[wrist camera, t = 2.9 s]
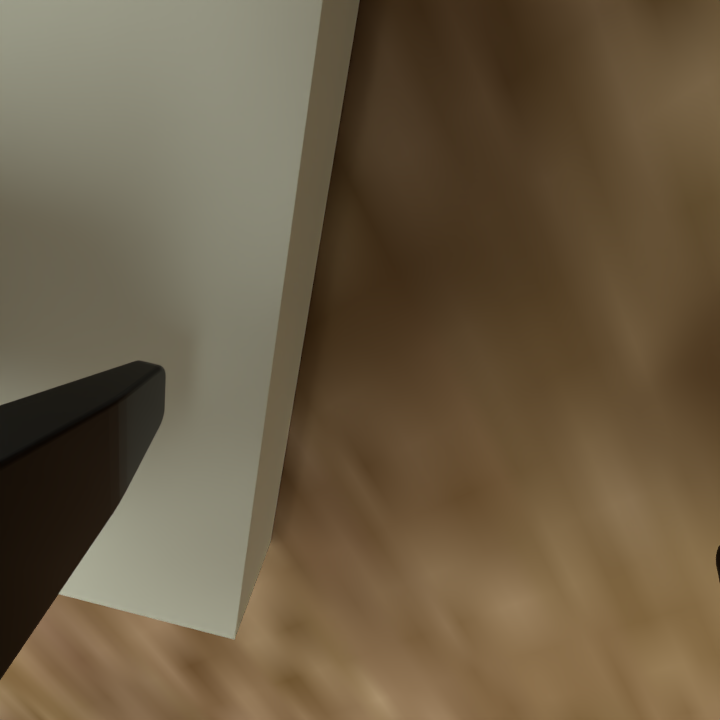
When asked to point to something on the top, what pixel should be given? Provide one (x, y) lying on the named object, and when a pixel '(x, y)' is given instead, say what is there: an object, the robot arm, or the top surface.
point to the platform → (171, 259)
